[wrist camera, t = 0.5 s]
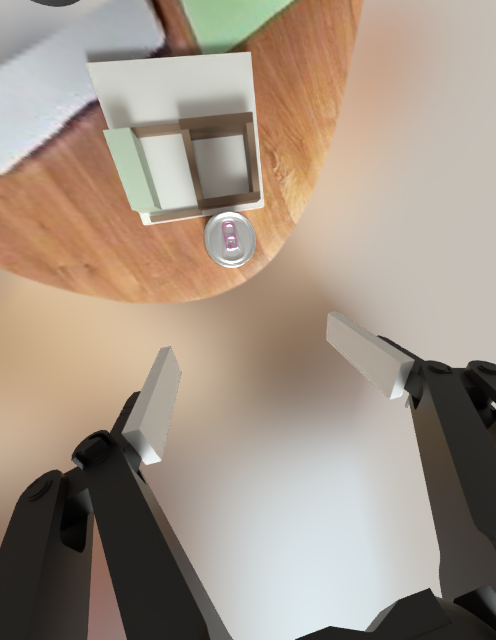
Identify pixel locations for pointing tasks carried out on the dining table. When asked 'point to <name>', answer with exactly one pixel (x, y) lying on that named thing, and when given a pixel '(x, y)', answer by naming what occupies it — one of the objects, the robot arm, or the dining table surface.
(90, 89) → the dining table surface
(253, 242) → the beverage can
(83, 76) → the dining table surface
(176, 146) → the board
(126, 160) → the block
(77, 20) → the dining table surface
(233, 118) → the socket
